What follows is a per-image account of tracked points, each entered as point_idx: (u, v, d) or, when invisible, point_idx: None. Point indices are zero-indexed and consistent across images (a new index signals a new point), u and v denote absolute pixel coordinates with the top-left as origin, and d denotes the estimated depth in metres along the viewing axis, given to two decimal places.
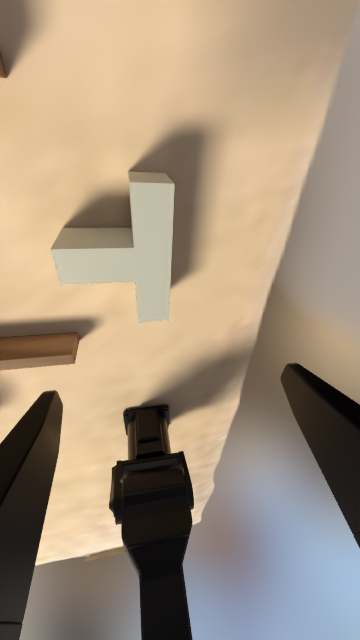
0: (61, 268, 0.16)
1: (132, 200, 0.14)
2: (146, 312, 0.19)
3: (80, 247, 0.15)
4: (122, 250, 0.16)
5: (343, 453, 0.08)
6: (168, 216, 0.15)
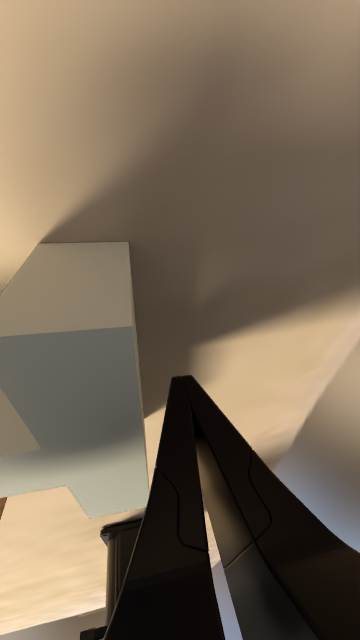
0: None
1: None
2: (102, 508, 0.09)
3: None
4: (13, 457, 0.06)
5: (210, 479, 0.07)
6: (124, 391, 0.05)
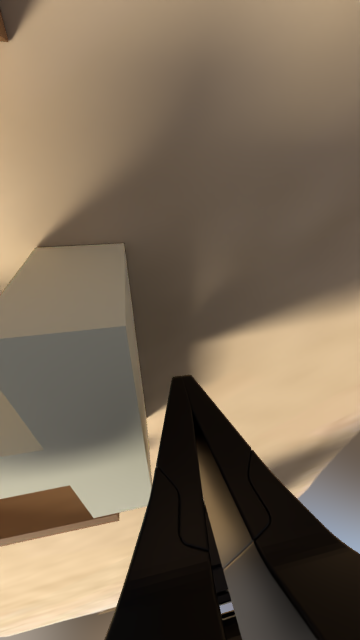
0: None
1: None
2: (106, 507, 0.10)
3: None
4: (15, 457, 0.06)
5: (209, 479, 0.07)
6: (121, 390, 0.05)
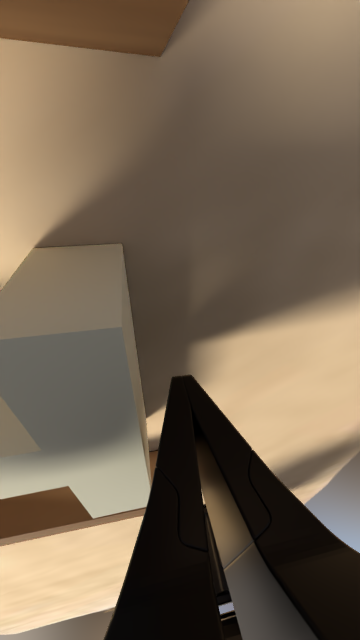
0: None
1: None
2: (105, 507, 0.10)
3: None
4: (13, 458, 0.06)
5: (210, 479, 0.07)
6: (118, 391, 0.05)
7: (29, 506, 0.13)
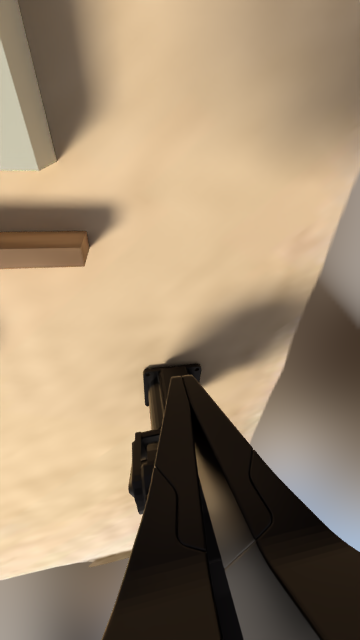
0: None
1: None
2: None
3: None
4: None
5: (211, 479, 0.07)
6: None
7: None
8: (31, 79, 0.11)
